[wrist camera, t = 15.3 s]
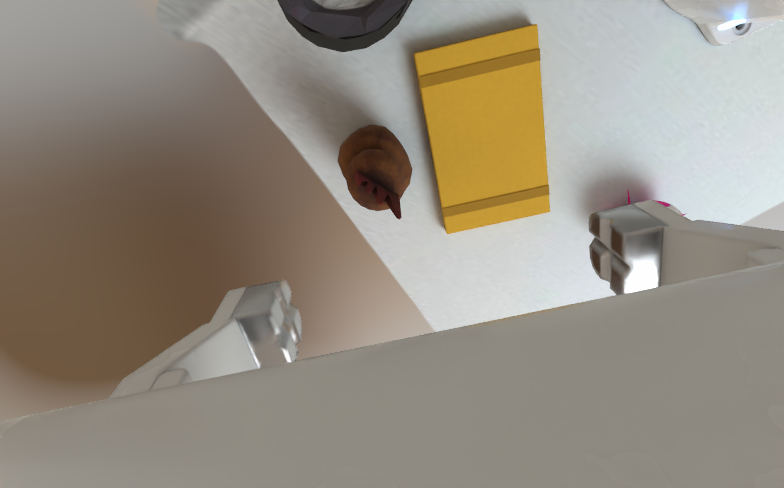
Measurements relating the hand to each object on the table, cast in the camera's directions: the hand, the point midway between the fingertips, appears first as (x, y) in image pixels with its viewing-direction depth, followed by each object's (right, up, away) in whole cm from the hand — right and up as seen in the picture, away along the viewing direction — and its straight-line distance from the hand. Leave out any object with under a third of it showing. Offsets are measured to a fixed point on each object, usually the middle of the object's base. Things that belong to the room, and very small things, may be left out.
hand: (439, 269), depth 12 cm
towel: (+8, +11, +32) cm, 35 cm away
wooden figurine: (-3, +10, +32) cm, 34 cm away
